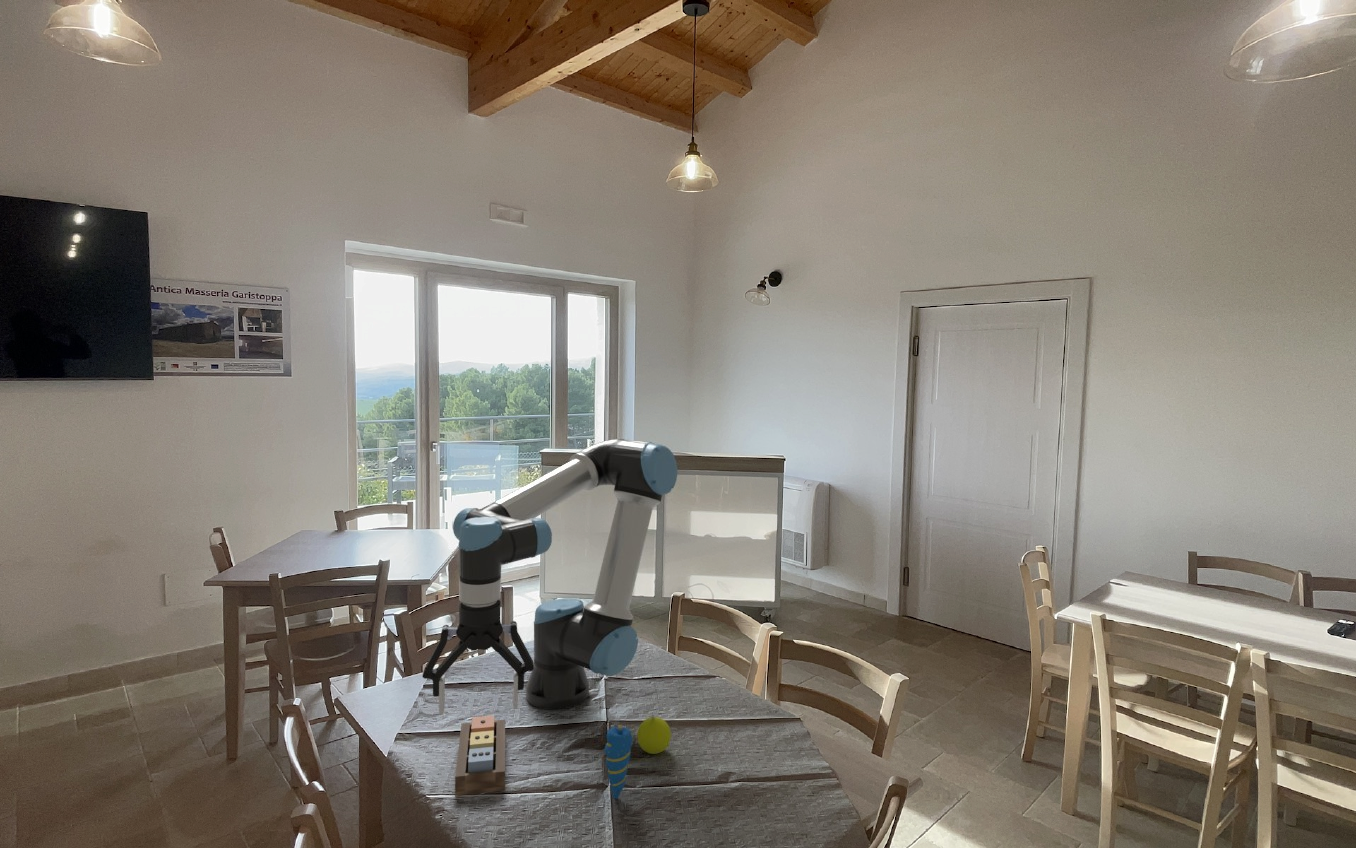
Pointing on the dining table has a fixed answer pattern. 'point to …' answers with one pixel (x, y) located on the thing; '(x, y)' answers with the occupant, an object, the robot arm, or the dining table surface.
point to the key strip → (484, 779)
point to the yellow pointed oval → (654, 735)
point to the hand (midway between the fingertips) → (479, 708)
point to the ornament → (618, 757)
